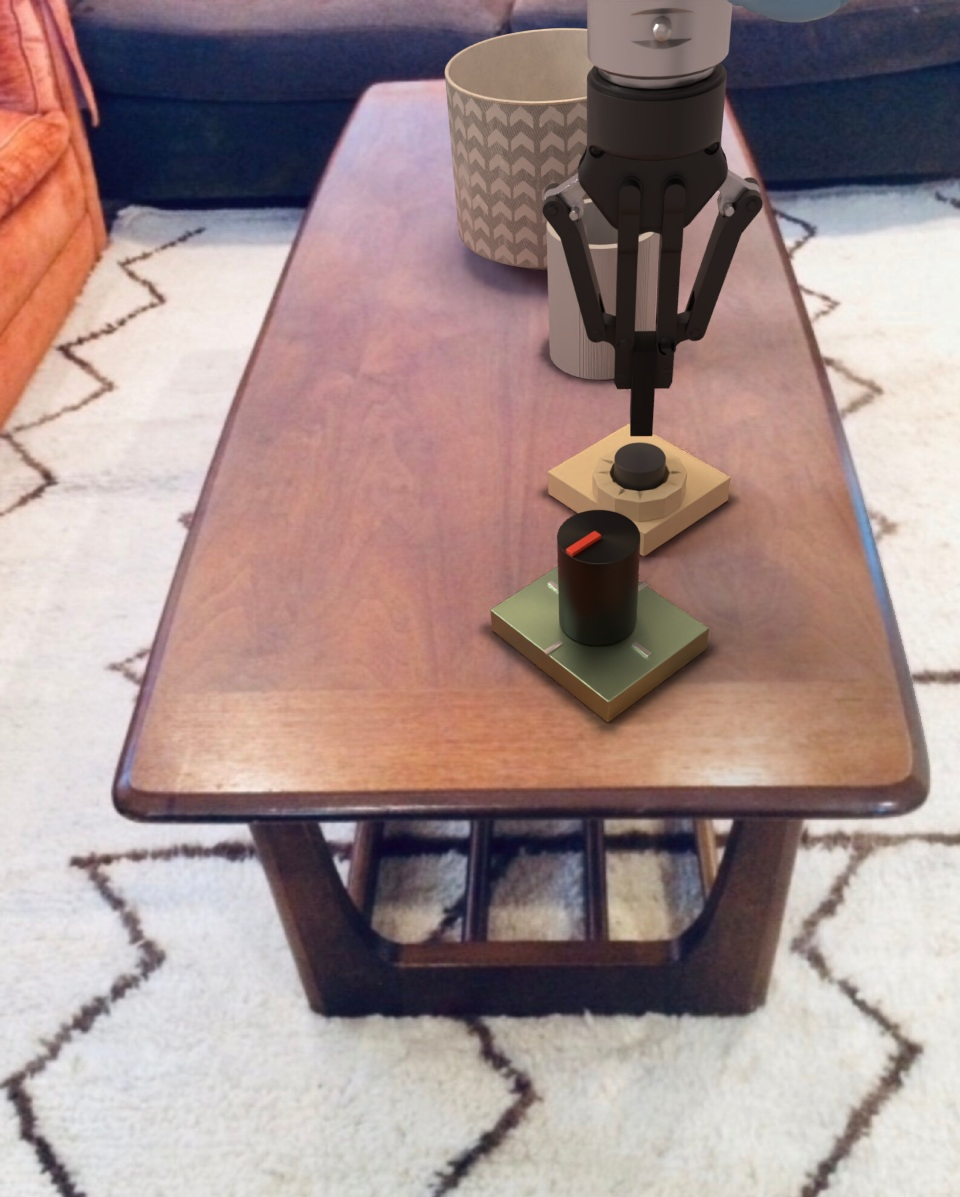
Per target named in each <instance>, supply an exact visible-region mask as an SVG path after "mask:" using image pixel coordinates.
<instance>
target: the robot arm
mask: <svg viewBox="0 0 960 1197" xmlns="http://www.w3.org/2000/svg"><path fill="white" fill-rule="evenodd" d="M850 1H851V0H586V22H587V23H586V29H587V58H588V59H589V60H590V61H591V62H592V64H593V65H594V66H593V67H592V69H591V70H590V71H589V73H588V75H587V146H586V149H585V152H584V154H583V155H582V157H581V159H580V162H579V166H578V173H577V174H575V175H574V176H573V177H571V178H570V179H568V180H567V181H565V182H564V183H562V184H561V185H560V184H557V183H551V184H549V185H548V186H547V187H546V188H545V191H544V200H543V215H544V217H545V218H546V219H547V221H548V222H549V223H550V225H551V226H552V228H553V229H554V230H555V232H556V233H557V234H558V236H559V237H560V239H561V242H562V246H563V250H564V253H565V257H566V261H567V264H568V268H569V271H570V275H571V279H572V282H573V286H574V290H575V293H576V297H577V301H578V304H579V308H580V312H581V315H582V319H583V323H584V326H585V330H586V333H587V337H588V339H589V340H590V341H591V342H594V343H599V342H601V341H604V342H607V343H610V344H611V345H612V346H613V347H614V349H615V362H614V379H613V383H614V386H615V388H616V390H630V400H629V401H630V402H629V423H630V436H652V434H654V433H653V432H654V431H653V430H654V414H655V413H654V412H655V393H656V390H658V389H659V390H662V389H663V390H664V389H666V390H667V389H670V388H671V386H672V384H673V379H674V364H675V353H676V352H677V351H676V350H677V346H678V345H679V344H681V343H683V342H686V341H691V342H698V341H701V340H702V339H703V338H704V337H705V335H706V332H707V330H708V327H709V325H710V322H711V320H712V316H713V313H714V311H715V308H716V305H717V302H718V299H719V297H720V294H721V292H722V288H723V286H724V283H725V280H726V278H727V275H728V272H729V270H730V267H731V264H732V262H733V258H734V256H735V253H736V250H737V248H738V245H739V242H740V239H741V237H742V234H743V233H744V232H745V230H746V229H747V228H748V227H749V226H750V224H751V223H752V222H753V220H754V219H755V218H756V217H757V216H758V214H759V213H760V212H761V211H762V208H763V204H764V203H763V197H762V192H761V188H760V184H759V181H758V180H757V179H756V178H754V177H751V176H750V177H746V178H743V177H741V176H739V175H738V174H736V173H734V171H732V170H730V169H729V165H728V161H727V160H728V159H727V156H726V153H725V152H724V149H723V147H722V136H723V125H724V113H725V101H726V91H727V78H728V72H727V70H726V67H725V66H724V65H723V64H722V62H723V61H724V59H726V57H727V56H728V55H729V51H730V41H731V39H730V38H731V27H732V16H733V15H732V14H733V6H734V7H743V8H744V9H746V10H747V11H748V12H749V13H754V14H760V15H761V16H764V17H766V18H768V19H771V20H773V21H777V22H782V23H808V22H811V21H816V20H821V19H823V18H826V17H829V16H831V15H833V14H834V13H835V12H836V11H838V10H839V9H840V8H842V7H843V6H846V5H847V4H848V3H849V2H850ZM718 191H719V194H718V195H717V200H716V202H717V208H718V214H717V216H716V218H715V222H714V225H713V227H712V230H711V232H710V235H709V239H708V241H707V245H706V247H705V250H704V252H703V255H702V258H701V262H700V265H699V268H698V271H697V273H696V276H695V280H694V282H693V286H692V288H691V291H690V295H689V297H688V299H687V303H686V305H685V308H684V311H681V312H679V298H680V296H679V295H680V282H681V268H682V267H681V262H682V252H683V242H684V229H685V228H687V227H688V226H689V225H691V224H692V222H693V221H694V220H695V219H696V217H697V216H698V215H699V214H700V213H701V211H702V210H703V209H704V208H705V206H706V205H707V204H708V203H709V202H710V200H711V199H712V198H713V197H714V196H715V195H716V193H717V192H718ZM585 194H587V195H588V196H589V198H590V199H591V200H592V202H593V203H594V204H595V206H596V207H597V208H598V209H599V211H600V212H601V213H602V215H603V216H604V217H605V219H606V220H607V221H608V223H609V224H610V225H611V226H612V227H613V228H615V229H616V230H618V236H617V275H616V314H615V316H614V315H611V314H608V313H606V311H605V307H604V303H603V299H602V295H601V291H600V287H599V283H598V280H597V276H596V272H595V268H594V264H593V260H592V256H591V252H590V248H589V245H588V241H587V237H586V233H585V229H584V225H583V221H582V218H581V217H582V216H583V214H584V200H583V197H584V195H585ZM647 232H654V233H658V234H659V249H658V269H657V289H656V309H655V329H654V331H635V314H636V288H637V263H638V246H639V235H640V234H644V233H647ZM678 312H679V313H678Z"/></svg>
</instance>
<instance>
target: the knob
mask: <svg viewBox="0 0 960 1197" xmlns="http://www.w3.org/2000/svg"><path fill="white" fill-rule="evenodd" d="M556 545H557V546H556V548H557V549H556V550H557V554H556V555H557V556H556V557H557V566H558V597H559V622H560V625H561V627H562V629H563V631H564V632H565V633H566V634H567V635H568V636H569V637H571V638H572V639H574V640H576V641H578V642H580V643H583V644H587V645H595V646H602V645H609V644H613V643H616V642H619V641H621V640H622V639H624V638H626V637H627V636H628V635H629V634H630V633H631V632H632V631H633V629H634V627H635V625H636V622H637V602H638V581H640V580H639V579H640V560H641V558H640V556H641V554H640V532H639V529H638V527H637V526H636V524H635V523H634V522H633V521H632V520H631V519H629V518H628V517H626V516H624V515H622V514H620V513H617V512H613V511H608V510H589V511H584V512H581V513H575V514H573V515H571V516H570V517H568V518H567V519H565V521H564V522H562V524H561V525H560V526H559V528H558V531H557V534H556Z"/></svg>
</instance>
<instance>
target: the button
mask: <svg viewBox="0 0 960 1197" xmlns="http://www.w3.org/2000/svg"><path fill="white" fill-rule="evenodd" d="M665 465H666V456H665V454H664V452H663V451H662V450H661V449H660V448H659V447H657V446H655V445H653V444H649V443H642V442H638V443H631V444H627V445H625V446H623V447H621V448H620V449H619V450H618V451H617V452H616V454H615V457H614V479H615V481H616V483H617V484H618V485H619V486H621V487H622V488H624V489H628V490H634V491H646V490H652V489H656V488H657V487H659V486H660V485H661V484H662V483H663V481H664V478H665Z"/></svg>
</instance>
